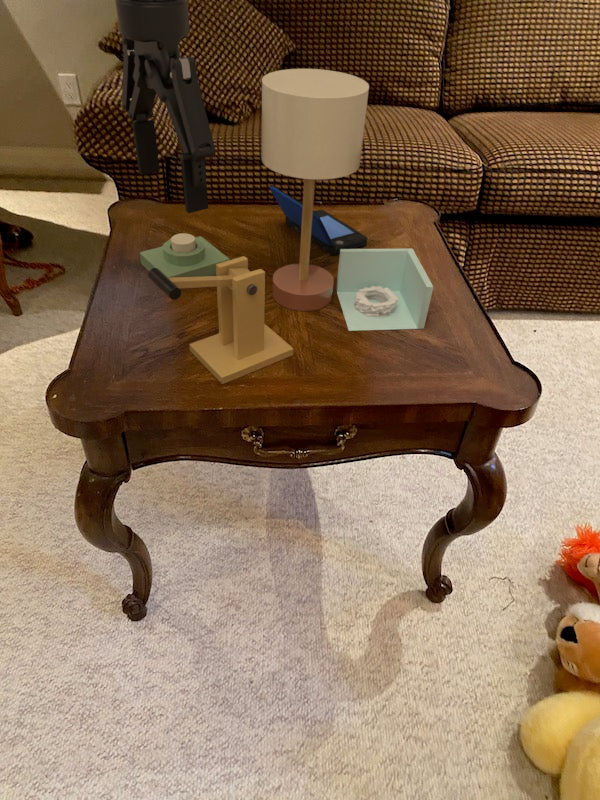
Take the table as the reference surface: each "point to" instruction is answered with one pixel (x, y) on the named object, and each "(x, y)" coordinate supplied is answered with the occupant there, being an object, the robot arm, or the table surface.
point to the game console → (319, 225)
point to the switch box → (184, 260)
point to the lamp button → (183, 243)
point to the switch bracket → (240, 328)
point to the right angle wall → (383, 289)
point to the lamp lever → (192, 281)
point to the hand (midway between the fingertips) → (172, 190)
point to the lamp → (310, 158)
